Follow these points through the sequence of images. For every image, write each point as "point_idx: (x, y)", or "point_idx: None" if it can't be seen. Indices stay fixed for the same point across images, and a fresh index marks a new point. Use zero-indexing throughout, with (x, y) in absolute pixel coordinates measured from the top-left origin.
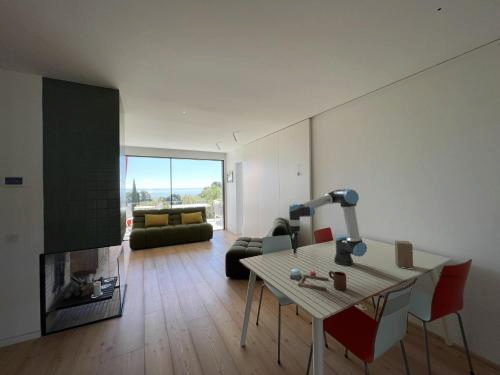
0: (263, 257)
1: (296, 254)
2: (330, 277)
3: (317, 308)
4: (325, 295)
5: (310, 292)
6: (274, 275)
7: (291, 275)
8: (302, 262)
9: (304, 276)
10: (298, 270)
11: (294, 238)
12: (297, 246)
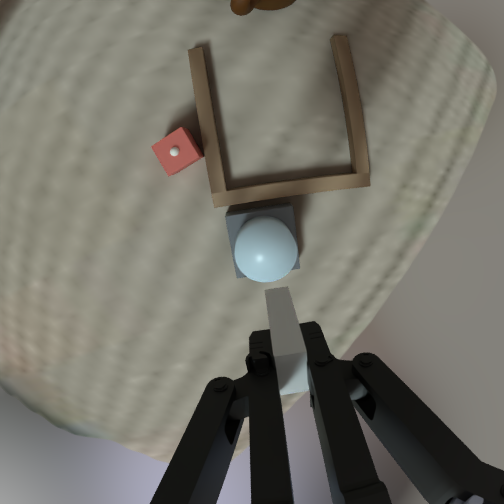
0: (132, 439)
1: (294, 309)
2: (251, 10)
3: (477, 76)
4: (386, 42)
5: (399, 108)
6: None
7: None
8: (40, 287)
9: (242, 188)
10: (256, 236)
11: (499, 471)
12: (230, 379)
